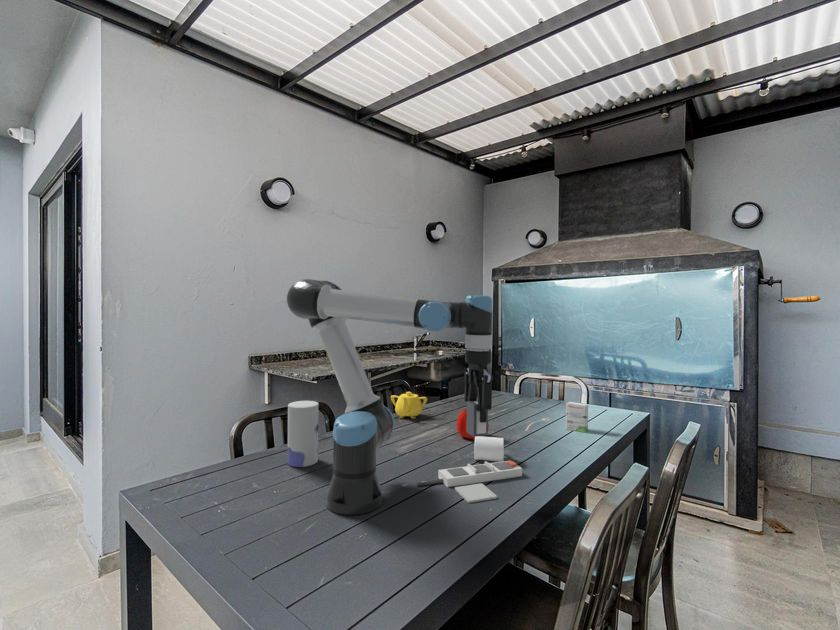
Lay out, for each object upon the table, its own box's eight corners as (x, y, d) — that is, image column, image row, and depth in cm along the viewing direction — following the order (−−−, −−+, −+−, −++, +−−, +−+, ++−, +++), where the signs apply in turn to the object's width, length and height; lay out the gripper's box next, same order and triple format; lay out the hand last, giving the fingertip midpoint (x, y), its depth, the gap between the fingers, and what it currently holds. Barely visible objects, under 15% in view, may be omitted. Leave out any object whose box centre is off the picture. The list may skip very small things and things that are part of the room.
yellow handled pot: (387, 415, 203) (387, 391, 203) (411, 411, 212) (411, 388, 212) (403, 422, 192) (404, 396, 192) (428, 417, 201) (428, 393, 201)
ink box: (588, 430, 184) (588, 403, 184) (585, 433, 180) (586, 405, 180) (568, 426, 189) (568, 401, 189) (565, 429, 185) (565, 403, 185)
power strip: (420, 491, 121) (420, 478, 121) (412, 481, 128) (412, 469, 128) (522, 476, 133) (522, 464, 133) (510, 467, 140) (510, 457, 140)
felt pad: (468, 503, 115) (468, 500, 115) (454, 489, 123) (454, 487, 123) (497, 498, 118) (497, 496, 118) (481, 485, 126) (481, 483, 126)
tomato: (495, 438, 170) (495, 413, 170) (470, 444, 163) (471, 417, 163) (473, 430, 182) (473, 406, 181) (449, 435, 174) (449, 410, 174)
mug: (503, 465, 142) (503, 442, 142) (473, 462, 144) (474, 440, 144) (503, 453, 154) (503, 431, 154) (476, 451, 156) (476, 429, 156)
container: (323, 461, 143) (324, 403, 142) (297, 470, 135) (298, 408, 135) (307, 454, 150) (308, 398, 149) (281, 461, 142) (282, 403, 142)
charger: (473, 436, 117) (474, 404, 117) (466, 432, 121) (467, 401, 121) (487, 435, 119) (488, 403, 118) (479, 430, 123) (480, 400, 123)
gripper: (506, 352, 112) (504, 438, 113) (475, 346, 129) (474, 421, 129) (481, 353, 110) (479, 441, 110) (453, 346, 126) (452, 423, 127)
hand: (476, 430), depth 120 cm, fingers closed on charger, 4 cm apart
